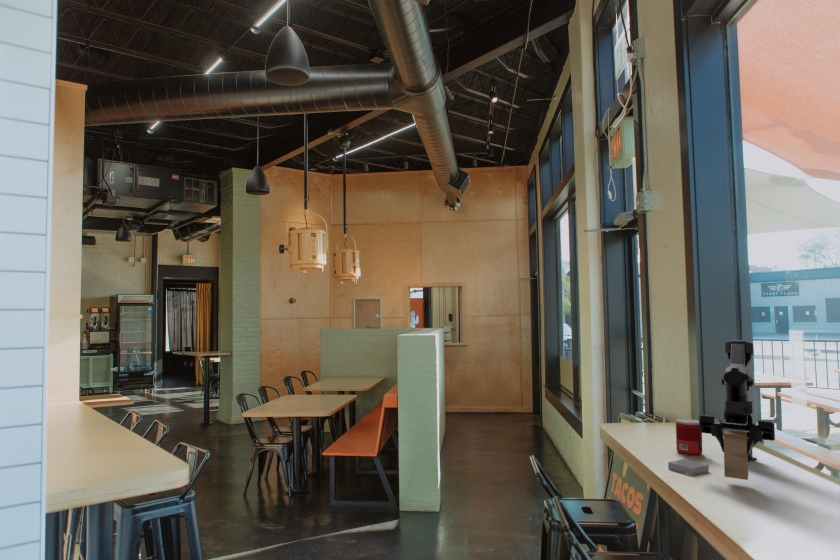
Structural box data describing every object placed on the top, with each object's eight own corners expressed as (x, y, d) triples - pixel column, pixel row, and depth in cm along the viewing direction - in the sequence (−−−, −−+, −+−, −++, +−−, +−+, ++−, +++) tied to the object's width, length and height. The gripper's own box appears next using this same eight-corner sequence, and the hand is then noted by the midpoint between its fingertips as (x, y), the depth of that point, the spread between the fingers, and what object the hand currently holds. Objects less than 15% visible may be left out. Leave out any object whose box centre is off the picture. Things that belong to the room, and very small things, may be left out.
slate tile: (684, 466, 172) (684, 458, 173) (708, 473, 165) (708, 464, 166) (668, 470, 168) (668, 462, 169) (692, 477, 161) (692, 468, 162)
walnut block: (725, 471, 156) (724, 429, 157) (748, 474, 153) (747, 431, 154) (724, 476, 152) (723, 433, 152) (747, 480, 149) (746, 435, 149)
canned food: (705, 456, 183) (704, 423, 184) (679, 455, 185) (679, 422, 185) (698, 450, 191) (697, 419, 191) (674, 449, 192) (673, 418, 193)
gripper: (698, 387, 162) (695, 431, 152) (773, 392, 152) (774, 440, 142) (702, 409, 168) (699, 454, 158) (774, 416, 158) (775, 464, 148)
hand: (735, 452), depth 152 cm, fingers closed on walnut block, 5 cm apart
